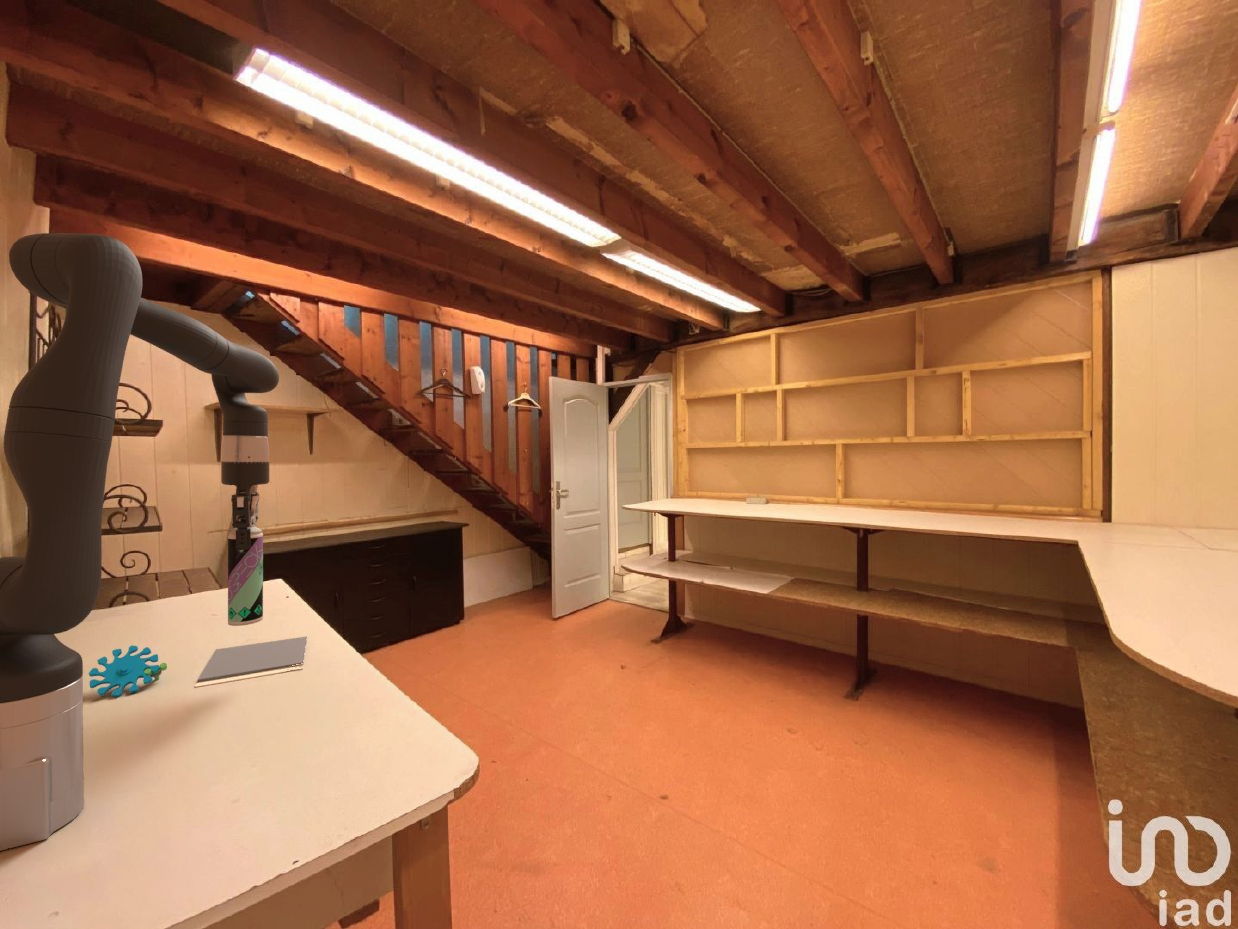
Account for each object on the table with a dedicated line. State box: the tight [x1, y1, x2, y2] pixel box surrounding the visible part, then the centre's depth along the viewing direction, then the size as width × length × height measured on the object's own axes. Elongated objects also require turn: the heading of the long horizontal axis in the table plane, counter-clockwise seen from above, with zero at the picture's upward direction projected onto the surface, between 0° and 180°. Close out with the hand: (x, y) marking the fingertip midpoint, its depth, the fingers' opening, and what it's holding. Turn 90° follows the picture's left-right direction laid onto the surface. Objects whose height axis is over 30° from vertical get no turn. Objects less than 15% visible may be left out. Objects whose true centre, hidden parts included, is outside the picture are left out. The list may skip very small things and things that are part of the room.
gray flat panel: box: [194, 636, 308, 688], centre depth 113 cm, size 21×18×1 cm
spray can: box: [227, 518, 264, 627], centre depth 98 cm, size 6×6×20 cm
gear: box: [88, 645, 168, 698], centre depth 100 cm, size 11×6×10 cm
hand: (245, 546), depth 98 cm, fingers closed on spray can, 5 cm apart
